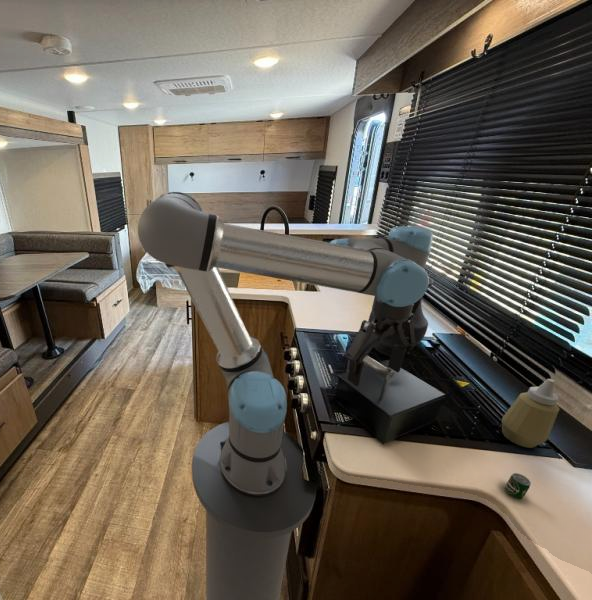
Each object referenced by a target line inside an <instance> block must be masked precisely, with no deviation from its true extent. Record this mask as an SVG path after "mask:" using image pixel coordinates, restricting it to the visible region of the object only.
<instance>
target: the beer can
mask: <svg viewBox="0 0 592 600" xmlns="http://www.w3.org/2000/svg"><path fill="white" fill-rule="evenodd" d="M531 484H532V482H531V481H530V479H529V478H527V476H525V475H523V474H521V473H517V472H516V473H512V475H510V477H509V478H508V480H507V482H506V484H505V486H504V492H505V493H506V494H507V495H508V496H510V497H511V498H512V499H516V500H522V499H523V498H524V497H525V495H527V493H528V491H529V489H530V487H531Z"/></svg>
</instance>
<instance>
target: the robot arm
mask: <svg viewBox="0 0 592 600" xmlns="http://www.w3.org/2000/svg"><path fill="white" fill-rule="evenodd" d="M137 235H138V239H139V240H138V241H139V242H140V245H141V246H142V248H143V250H144V251H145V252H146V253H147V254H148V255H149V256H150V257H152V258H153V259H154V260H156V261H158V262H160V263H163V264H165V266H166V268H167V269H170V270H173V271H176V272H177V274H178V277H179V278H180V280H181V282H182V284H183V286H184V288H185V290H186V292H187V293H188V296H189V298H190V300H191V301H192V303H193V305H194V307H195V309H196V311H197V313H198V316H199V317H200V319H201V321H202V323H203V325H204V326H205V329H206V330H207V333H208V334H209V336H210V338H211V340H212V342H213V345H214V346H215V348H216V349H217V351H218V352H217V354H216V357H215V359H216V360H215V361H216V363H217V365H218V367H219V369H220V371H221V373H222V375H223V376H224V379H225V381H226V388H227V401H228V414H229V415H228V417H229V418H228V422H229V437H228V439H227V441H226V442H220V445H221V446H224V447H223V449H222V452H221V456H220V468H221V472H222V475H223V477H224V479H225V480H226V482H227V483H228V484H229V485H230V486H231V487H232V488H233V489H234V490H236V491H237V492H239V493H241V494H243V495H246V496H250V497H266V496H269V495H272V494H273V493H275V492H276V491H278V490H279V489H280V487H281V486H282V484H283V482H284V480H285V474H286V470H287V467H286V459H284V456H283V452H282V449H281V441H282V434H283V431H284V426H285V419H286V416H287V415H286V414H287V411H288V409H287V407H288V403H287V402H288V401H287V394H286V393H287V392H286V391H285V388H284V386H283V385H282V383H281V382H280V381H279V380H278V379H276V378H275V377H274V374H273V370H272V367H271V361H270V359H269V356H268V354H267V353H266V351H265V350H264V349H263V347H262V345H261V343H260V341H259V340H258V339H257V338H255V337H253V336H250V334H249V332H248V330H247V328H246V326H245V323H244V320H243V318H242V316H241V315H240V312H239V309H238V308H237V306H236V304H235V302H234V299H233V297H232V295H231V293H230V291H229V288H228V286H227V284H226V281H225V280H224V278H223V275H222V274H221V271H220V269H222V270H227V271H234V272H240V273H245V274H250V275H256V276H262V277H267V278H273V279H279V280H284V281H290V282H295V283H301V284H305V285H307V284H308V285H313V286H318V287H324V288H330V289H334V290H340V291H345V292H351V293H357V294H361V295H362V294H363V295H367V296H374V298H373V302H372V306H371V311H373V313H374V315H375V317H374V319H373V320H372V322H368V320H365V319H364V320H362V321H361V323H360V327H359V330H358V331H357V333H356V334H355V336H354V338H353V340H352V341H351V343H350V345H349V346H348V348H347V349H346V352H345V353H344V355H343V356H344V358H345V359H346V360H348V361H349V367H348V372H349V374H348V380H349V381H350V382H352V383H353V384H354V385H356V386H358V385H359V382H360V378H361V373H362V369H363V365H364V362H362V360H363V359H364V358H365V357H366V356H367V355H369V354H370V353H371V351H372V349H373V348H374V346H375V345H376V343H377V342H378V341H382V340H383V338H384V337H387V336H389V335H392V336H393V337H394V339H395V341H396V343H397V344H398V345H394V346H393V350H392V353H391V356H389V359H388V360H389V364H388V367H389V368H391V369H393V370H394V371H396V372H400V368H402V365H403V361H404V358H405V356H406V353H407V351H412V349H413V348H414V347H412V346H410V345H414V344H415V334H414V324H413V321H414V316H415V315H414V314H412V313H411V312H412V309H413V305H414V303H415V302H417V301H418V300H419V299H420V298H421V297H422V298H423V296H424V295H425V294H426V292H427V290H428V289H429V288H428V285H429V274H428V272H427V271H426V269H425V268H426V265H427V263H428V262H427V261H428V258H429V255H430V253H431V247H432V243H433V238H434V235H433V232H432V231H431V230H430V229H428V228H425V227H421V226H420V227H419V226H410V225H409V226H408V225H407V226H406V225H400V226H394V227H392V228H391V229H390V230H389V233H388V234H387V237H380V238H379V237H376V238H375V237H373V238H371V237H369V238H366V237H364V238H357V237H356V238H350V237H346V238H336V239H333V240H331V241H329V242H327V241H323V240H322V241H321V240H317V239H312V238H306V237H300V236H295V235H290V234H285V233H280V232H274V231H267V230H264V229H263V230H262V229H257V228H252V227H247V226H240V225H236V224H230V223H225V222H223V220H222V219H221V217H220V216H219V215H217V214H211V213H206V212H204V211H203V209H202V207H201V205H200V203H198V201H197V200H196V199H195V198H193V197H192V196H191V195H189V194H188V193H184V192H180V191H169V192H167V193H163V194H161V195H160V196H158V197H157V198H155V199H154V200H153V201H152V202H150V203H149V204H148V205H146V206H145V208H144V209H143V211H142V212H141V214H140V217H139V218H138V222H137ZM427 288H428V289H427ZM374 331H375V333H376V334H377V335H379V336H377V335H375V334H373V332H374ZM364 366H365V365H364Z"/></svg>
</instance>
